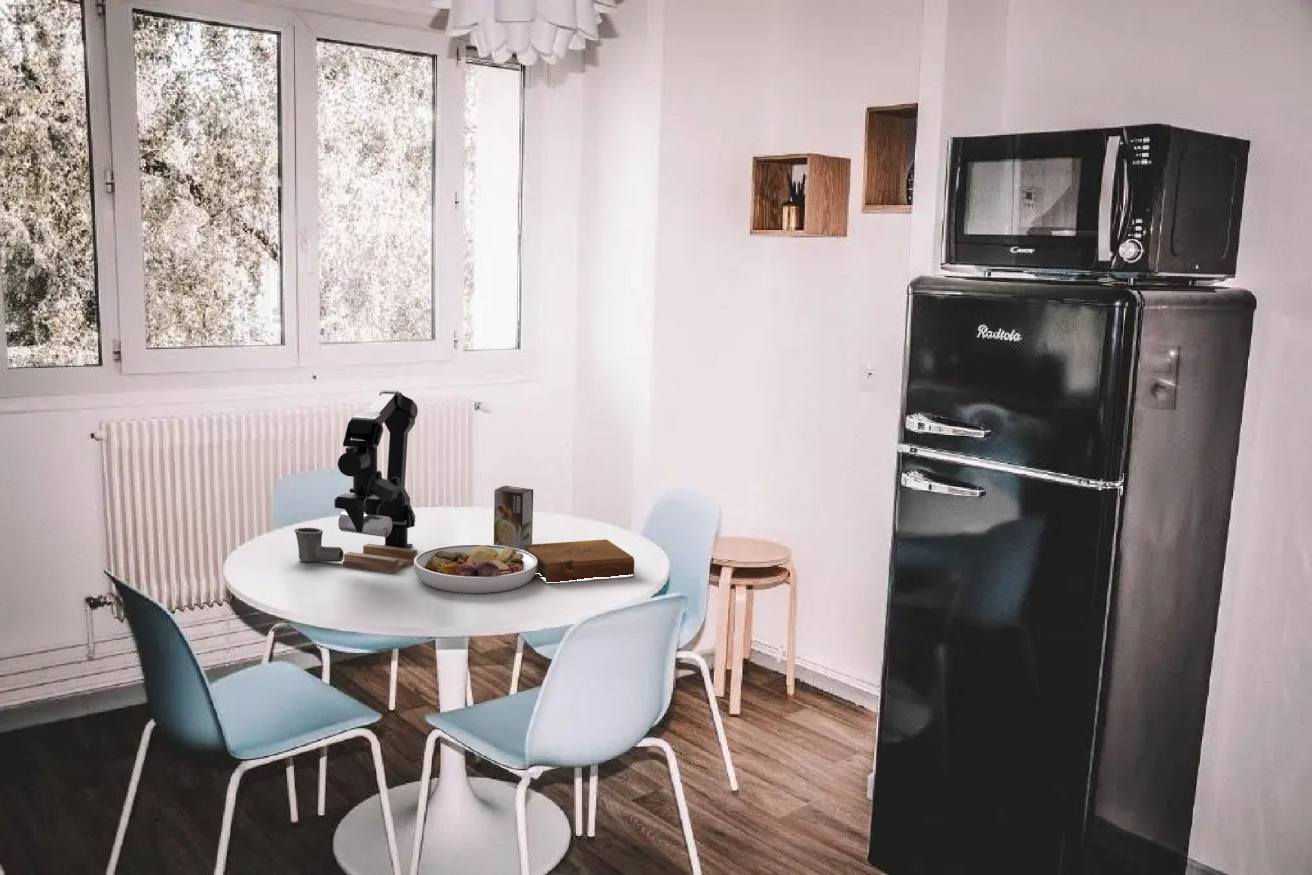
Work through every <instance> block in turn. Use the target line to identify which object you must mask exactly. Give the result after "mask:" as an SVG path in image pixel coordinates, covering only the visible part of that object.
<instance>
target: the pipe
mask: <svg viewBox="0 0 1312 875" xmlns="http://www.w3.org/2000/svg"><path fill="white" fill-rule="evenodd" d="M294 533H295V537H296V540H297V547H298V548H297V549H298V559H299V560H300V561H302V562H305V563H306V562H307V563H312V562H326V563H327V562H329V563H331V562H332V563H337V562H338V563H339V562H343V561H344V554H345V553H344V551H343V549H342V547H339V546H322V539H323V534H324V531H323V529H320V528H318V527H317V528H315V527H297V528H295V529H294Z"/></svg>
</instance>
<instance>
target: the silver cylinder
mask: <svg viewBox="0 0 1312 875" xmlns="http://www.w3.org/2000/svg"><path fill="white" fill-rule="evenodd" d="M337 525H338V529H339V530H340V532H347V533H352V534H361V535H368V536H374V537H383V538H385V537H388V536H389V535H390V533H391V530H392V519H391V518H390V517H387V516H379V515H372V514H365V513H364V520H363V528H362V532H361V533H360V532H357V530H356V528H355V527H354V525H353V523H352V521H351V519H350V517H349V515H348V514H347V512H346V510H343V511H342V512H341V513H340V515H339V518H338V522H337Z"/></svg>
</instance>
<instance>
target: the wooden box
mask: <svg viewBox="0 0 1312 875" xmlns="http://www.w3.org/2000/svg"><path fill="white" fill-rule="evenodd" d="M524 549H525V550H524V551H526V552H528V553H530V554H532V555H534V556H535V557H536V558H537V560H538V567H537V571H536V573H540V574H541V575H542V576H540V575H539V574H537V575H538V576H539V577H545V578H546V582H560V581H569V580H577V579H584V578H593V577H611V576H619V575H629V574H630V575H631V574H634V575H635V559H634V556H632V555H631V554H629V553H628V552H626V551H625V550H623V549H622V548H620V547H619V546H617V545H616V544H614V543H613V542H611V541H610V540H608V539H606V538H604V539H593V540H592V539H591V540H579V541H565V542H564V541H562V542H549V543H548V542H546V543H534V544H533V543H532V545H524ZM538 576H537V577H538ZM539 577H538V578H539Z"/></svg>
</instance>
